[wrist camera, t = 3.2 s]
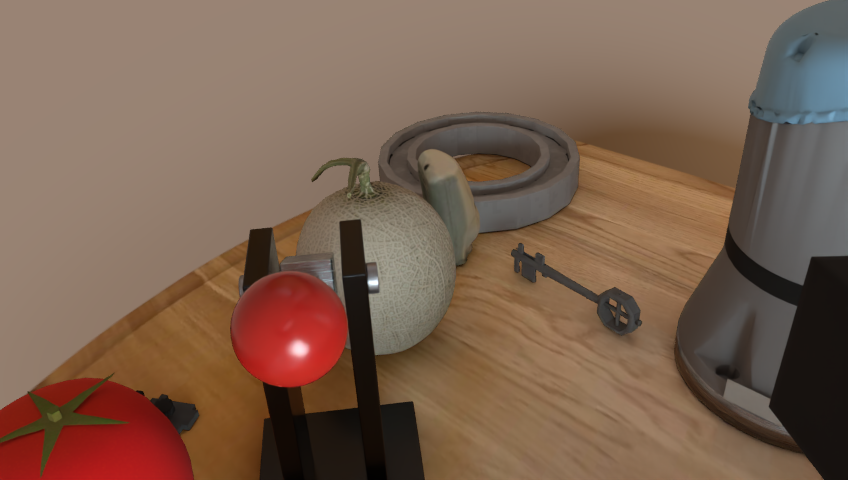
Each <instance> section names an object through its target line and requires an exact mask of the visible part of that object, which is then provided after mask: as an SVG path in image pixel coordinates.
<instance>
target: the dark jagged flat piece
mask: <svg viewBox="0 0 848 480" xmlns="http://www.w3.org/2000/svg"><path fill="white" fill-rule="evenodd" d="M136 392H138V393H140V394H141V395H143V396H144V393H143V391H138V390H137V391H136ZM150 402H151V403H152V404H154V405H155V406H156V407H157V408H158V409H159V410H160V411H161V412H162V413H163V414H164V415H165V416H166V417H167V418H168V419H169V420H170V422H171V423H172V424H173V426H174V427H175V429H176V430H177V432H178V434H180V433H181V431H182V430H183V429H184V430H190V428H191V427H192V425H193V424H194V422H195V421H196V419H197V418H198V416H199V413H198V410H196V407H195V404H188V403H182V402H175V401H172V400H171V399H169V398H168V395H164V394H161V396H160V397H159V399H156V398H152V399H151V400H150Z"/></svg>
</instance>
